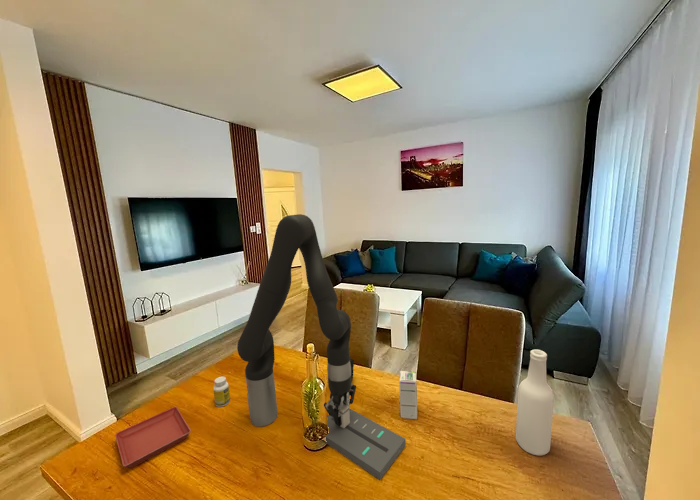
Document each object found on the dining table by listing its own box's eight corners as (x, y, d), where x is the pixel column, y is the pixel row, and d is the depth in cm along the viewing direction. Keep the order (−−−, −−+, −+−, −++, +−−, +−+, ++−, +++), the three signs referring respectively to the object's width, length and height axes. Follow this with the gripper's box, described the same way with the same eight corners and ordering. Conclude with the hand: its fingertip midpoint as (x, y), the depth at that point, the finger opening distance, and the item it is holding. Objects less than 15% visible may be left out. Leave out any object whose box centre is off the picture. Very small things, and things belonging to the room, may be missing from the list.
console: (313, 434, 96) (313, 427, 96) (341, 410, 107) (341, 403, 106) (380, 480, 80) (379, 471, 79) (405, 445, 90) (405, 438, 90)
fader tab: (334, 423, 97) (333, 406, 96) (340, 417, 99) (339, 401, 98) (343, 428, 94) (342, 412, 93) (350, 422, 97) (349, 406, 96)
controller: (355, 375, 127) (354, 354, 125) (350, 394, 115) (348, 370, 113) (345, 374, 128) (344, 353, 126) (339, 393, 116) (338, 370, 114)
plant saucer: (177, 413, 110) (176, 405, 109) (193, 439, 97) (191, 430, 96) (116, 442, 97) (114, 433, 97) (125, 477, 85) (123, 467, 84)
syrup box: (417, 419, 100) (417, 381, 98) (399, 418, 102) (399, 379, 99) (417, 408, 106) (416, 371, 103) (400, 406, 107) (399, 370, 105)
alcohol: (545, 436, 91) (552, 346, 86) (554, 460, 83) (562, 362, 78) (512, 430, 94) (517, 343, 89) (518, 453, 86) (524, 358, 81)
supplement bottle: (226, 407, 111) (223, 383, 109) (212, 407, 111) (209, 384, 110) (232, 397, 116) (229, 375, 115) (219, 398, 117) (216, 375, 115)
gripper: (344, 359, 101) (347, 404, 104) (315, 380, 91) (318, 429, 94) (362, 366, 97) (364, 413, 100) (333, 389, 86) (336, 440, 89)
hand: (342, 421), depth 97 cm, fingers closed on fader tab, 3 cm apart
